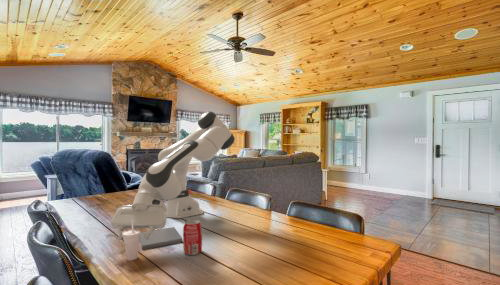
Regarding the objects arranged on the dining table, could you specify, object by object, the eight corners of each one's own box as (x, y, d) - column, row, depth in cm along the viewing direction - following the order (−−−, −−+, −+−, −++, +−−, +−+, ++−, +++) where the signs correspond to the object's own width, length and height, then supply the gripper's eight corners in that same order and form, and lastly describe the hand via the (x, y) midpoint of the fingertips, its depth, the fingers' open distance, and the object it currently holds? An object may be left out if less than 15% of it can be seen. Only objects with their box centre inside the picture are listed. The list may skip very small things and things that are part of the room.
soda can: (194, 246, 105) (194, 217, 104) (205, 251, 100) (205, 221, 100) (179, 252, 99) (179, 221, 99) (191, 258, 95) (191, 225, 94)
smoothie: (144, 254, 98) (143, 217, 98) (137, 262, 92) (137, 223, 91) (127, 254, 98) (126, 217, 98) (119, 262, 91) (118, 223, 91)
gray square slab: (174, 230, 124) (174, 227, 124) (182, 241, 110) (182, 238, 110) (138, 236, 116) (137, 232, 116) (141, 249, 102) (141, 245, 102)
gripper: (115, 201, 102) (101, 234, 93) (166, 201, 102) (157, 235, 92) (121, 209, 107) (108, 242, 97) (170, 209, 107) (162, 242, 97)
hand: (133, 238), depth 95 cm, fingers open, 8 cm apart
